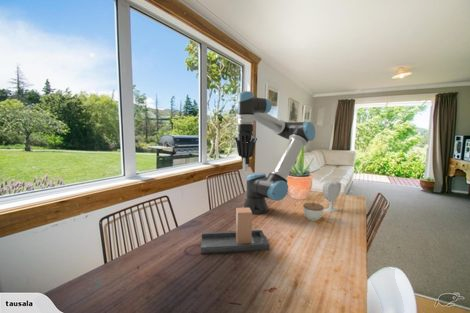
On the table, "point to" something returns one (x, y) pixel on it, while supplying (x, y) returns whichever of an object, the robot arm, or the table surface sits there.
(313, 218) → the lidded jar
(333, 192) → the heart sculpture
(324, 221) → the table surface
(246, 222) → the terracotta block
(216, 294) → the table surface
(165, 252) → the table surface
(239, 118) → the robot arm
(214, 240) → the grey tray
